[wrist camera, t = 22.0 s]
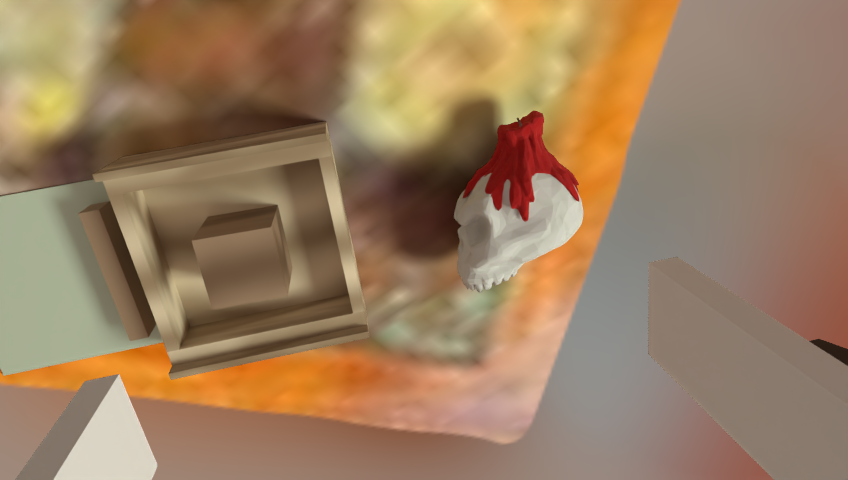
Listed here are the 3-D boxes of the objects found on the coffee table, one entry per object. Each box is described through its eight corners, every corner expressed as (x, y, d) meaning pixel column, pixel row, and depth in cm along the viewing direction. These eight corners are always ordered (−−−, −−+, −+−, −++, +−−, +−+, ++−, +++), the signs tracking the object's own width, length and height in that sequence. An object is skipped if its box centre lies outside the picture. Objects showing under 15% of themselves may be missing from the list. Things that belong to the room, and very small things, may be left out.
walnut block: (207, 216, 47) (191, 240, 42) (277, 204, 48) (271, 227, 42) (225, 279, 49) (212, 309, 44) (292, 267, 50) (287, 296, 45)
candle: (449, 273, 53) (440, 116, 50) (560, 261, 55) (559, 107, 51) (470, 305, 45) (461, 117, 41) (601, 290, 46) (604, 107, 42)
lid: (-75, 208, 45) (-104, 221, 42) (125, 172, 47) (111, 181, 43) (8, 370, 51) (-12, 392, 48) (184, 333, 52) (175, 352, 49)
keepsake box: (122, 156, 45) (92, 174, 40) (326, 121, 47) (325, 133, 41) (188, 341, 52) (170, 379, 46) (365, 305, 54) (369, 337, 48)
